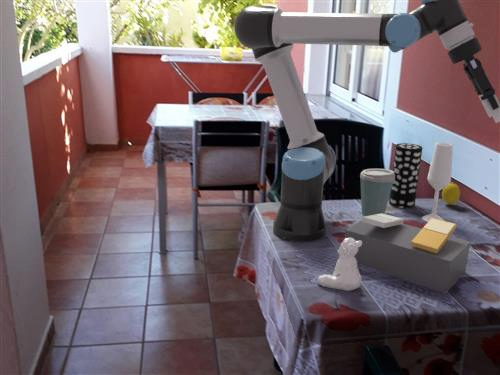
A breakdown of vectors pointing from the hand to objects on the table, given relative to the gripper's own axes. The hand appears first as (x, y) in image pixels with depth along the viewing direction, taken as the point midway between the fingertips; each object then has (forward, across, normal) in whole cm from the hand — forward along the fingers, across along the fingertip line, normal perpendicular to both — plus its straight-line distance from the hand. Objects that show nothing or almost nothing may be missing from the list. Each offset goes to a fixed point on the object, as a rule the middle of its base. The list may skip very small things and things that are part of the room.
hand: (497, 117), depth 127 cm
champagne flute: (+23, +16, +28) cm, 39 cm away
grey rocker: (+9, -18, +35) cm, 40 cm away
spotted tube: (+17, +27, +36) cm, 48 cm away
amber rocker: (+16, -23, +25) cm, 37 cm away
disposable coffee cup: (+14, +11, +43) cm, 46 cm away
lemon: (+25, +32, +23) cm, 47 cm away
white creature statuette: (+15, -36, +46) cm, 60 cm away
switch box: (+21, -20, +35) cm, 45 cm away
